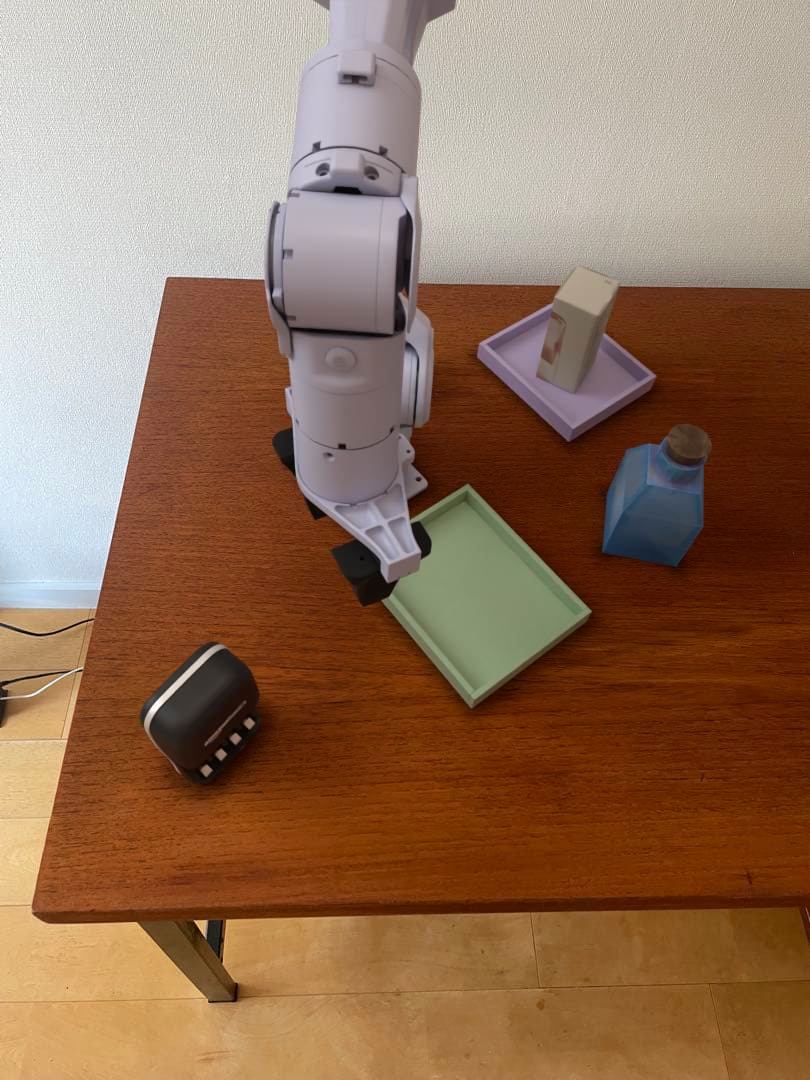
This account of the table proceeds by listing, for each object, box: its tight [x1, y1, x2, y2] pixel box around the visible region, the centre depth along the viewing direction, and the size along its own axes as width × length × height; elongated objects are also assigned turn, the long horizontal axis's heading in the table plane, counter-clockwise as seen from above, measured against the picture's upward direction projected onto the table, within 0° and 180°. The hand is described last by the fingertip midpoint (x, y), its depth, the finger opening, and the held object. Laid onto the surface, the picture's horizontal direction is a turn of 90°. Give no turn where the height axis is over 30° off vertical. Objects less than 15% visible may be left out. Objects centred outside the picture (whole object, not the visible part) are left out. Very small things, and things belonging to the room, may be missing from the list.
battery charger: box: [139, 640, 262, 785], centre depth 52 cm, size 7×4×11 cm, turn 142°
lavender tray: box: [476, 302, 657, 443], centre depth 77 cm, size 13×11×2 cm
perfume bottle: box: [601, 423, 712, 568], centre depth 63 cm, size 6×6×12 cm
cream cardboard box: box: [536, 264, 621, 394], centre depth 73 cm, size 5×4×10 cm
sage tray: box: [380, 483, 592, 709], centre depth 64 cm, size 15×12×2 cm
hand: (349, 553), depth 54 cm, fingers open, 7 cm apart
